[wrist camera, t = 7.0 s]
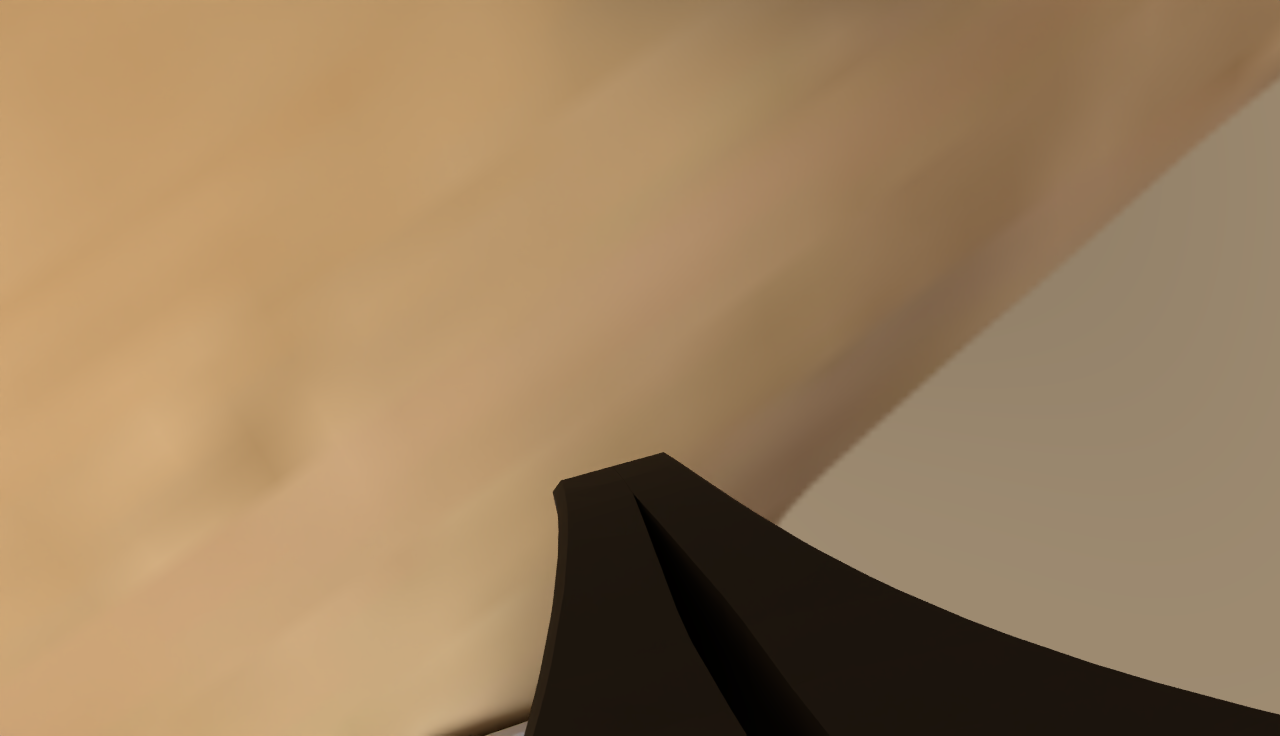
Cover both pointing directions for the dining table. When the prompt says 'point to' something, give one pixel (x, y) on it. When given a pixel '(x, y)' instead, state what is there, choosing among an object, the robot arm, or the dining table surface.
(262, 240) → the dining table surface
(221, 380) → the dining table surface
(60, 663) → the dining table surface
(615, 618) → the robot arm
